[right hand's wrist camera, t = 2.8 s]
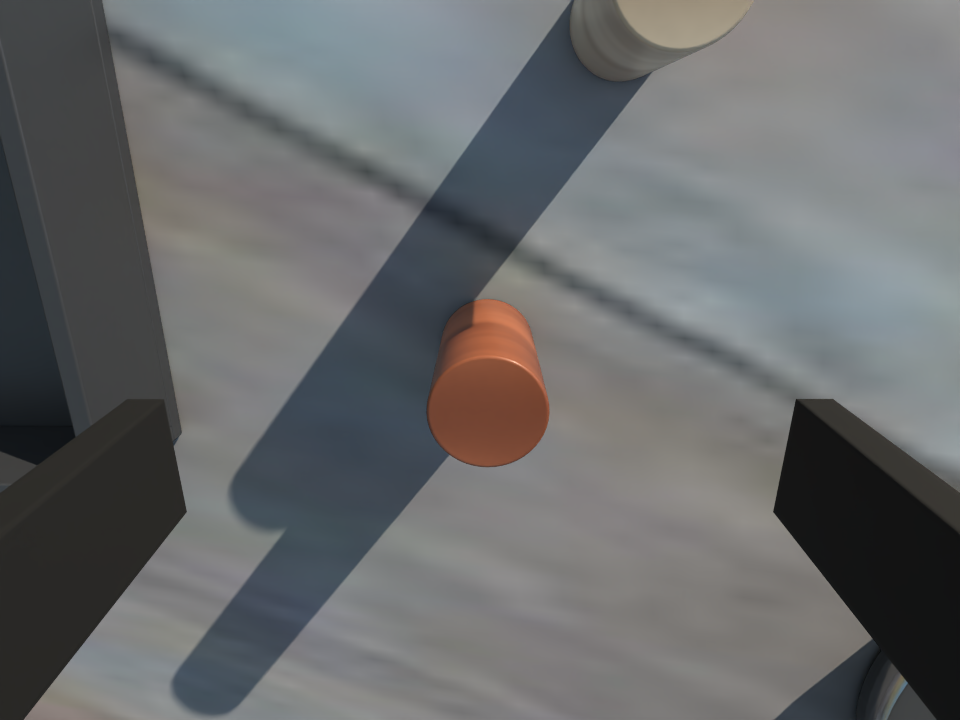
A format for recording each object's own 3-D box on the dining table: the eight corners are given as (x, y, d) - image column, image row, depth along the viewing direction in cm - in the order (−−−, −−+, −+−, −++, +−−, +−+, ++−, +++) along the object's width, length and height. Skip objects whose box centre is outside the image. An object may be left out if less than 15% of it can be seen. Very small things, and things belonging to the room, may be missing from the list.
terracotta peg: (531, 384, 22) (547, 468, 16) (442, 384, 22) (428, 468, 16) (533, 298, 21) (552, 355, 15) (440, 298, 21) (424, 355, 15)
